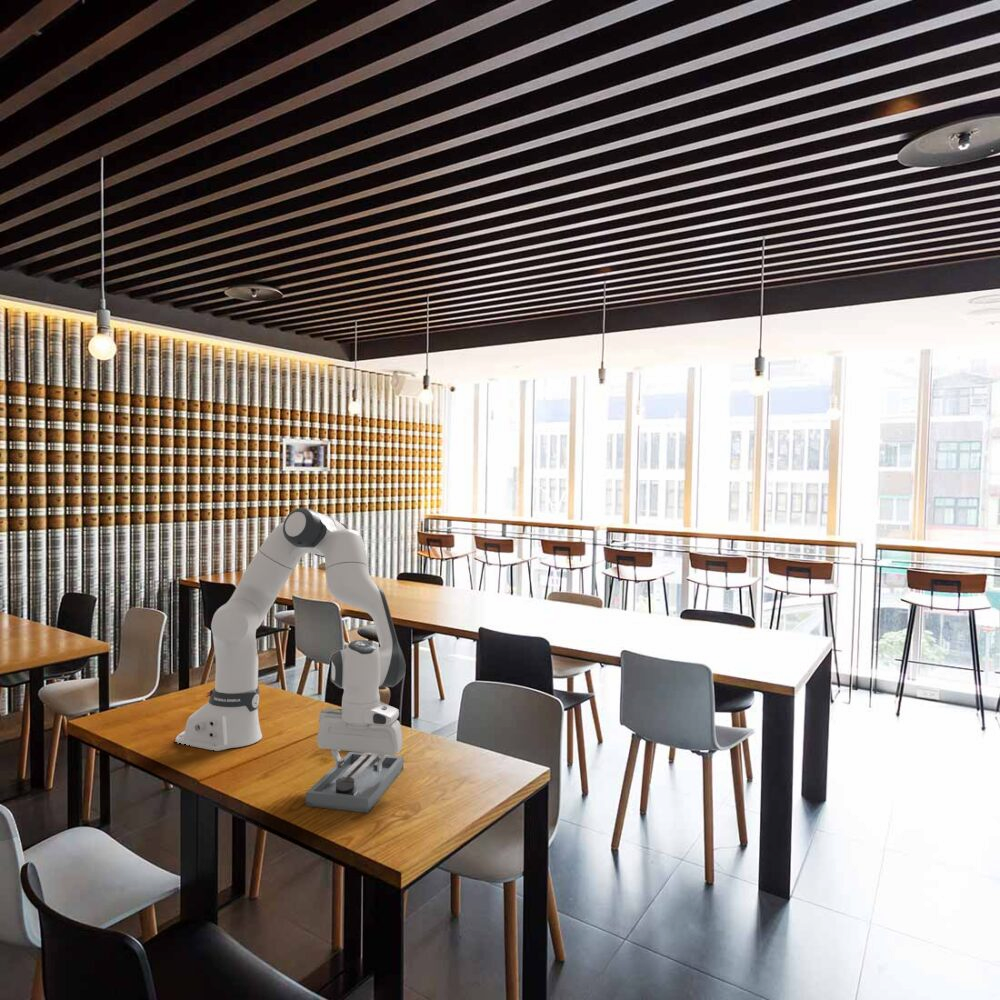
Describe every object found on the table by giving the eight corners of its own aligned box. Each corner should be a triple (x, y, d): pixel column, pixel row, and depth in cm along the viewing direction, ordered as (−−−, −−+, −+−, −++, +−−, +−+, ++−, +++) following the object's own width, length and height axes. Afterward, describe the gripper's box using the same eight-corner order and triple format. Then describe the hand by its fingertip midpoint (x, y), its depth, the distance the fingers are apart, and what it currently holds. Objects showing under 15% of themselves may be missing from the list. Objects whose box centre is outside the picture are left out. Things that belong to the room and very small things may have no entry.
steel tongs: (332, 798, 154) (333, 783, 154) (364, 765, 173) (365, 751, 173) (349, 800, 153) (350, 784, 153) (380, 766, 173) (380, 752, 173)
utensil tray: (305, 806, 152) (306, 792, 152) (349, 763, 177) (349, 751, 177) (368, 813, 149) (368, 799, 149) (403, 768, 174) (403, 757, 174)
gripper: (313, 711, 162) (311, 769, 162) (397, 718, 159) (394, 778, 159) (324, 703, 168) (322, 760, 168) (405, 710, 165) (403, 768, 165)
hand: (358, 769), depth 163 cm, fingers open, 8 cm apart
